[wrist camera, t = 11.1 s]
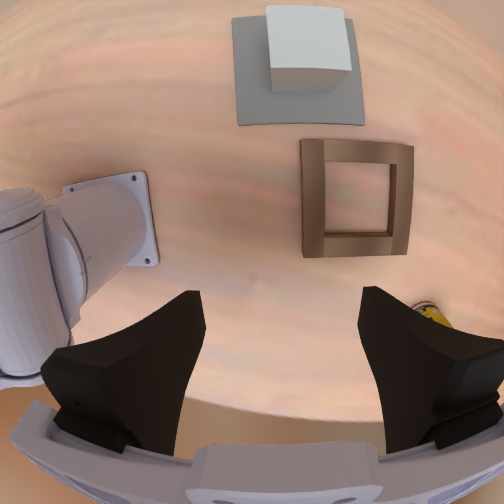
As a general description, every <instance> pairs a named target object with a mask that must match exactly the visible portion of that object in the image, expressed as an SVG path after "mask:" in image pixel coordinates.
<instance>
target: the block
mask: <svg viewBox="0 0 504 504" xmlns="http://www.w3.org/2000/svg"><path fill="white" fill-rule="evenodd" d="M266 17H267V29H268V41H269V54H270V67H271V82H272V92H322V93H330V92H331V91H332V90H333V89H334V88H335V87H336V86H337V85H338V84H339V83H340V82H341V81H342V80H343V79H344V78H345V77H346V76H347V75H348V74H349V73H350V72H351V71H352V67H351V59H350V51H349V44H348V38H347V32H346V26H345V20H344V15H343V10H342V9H340V8H331V7H319V6H300V5H269V6H266Z"/></svg>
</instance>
